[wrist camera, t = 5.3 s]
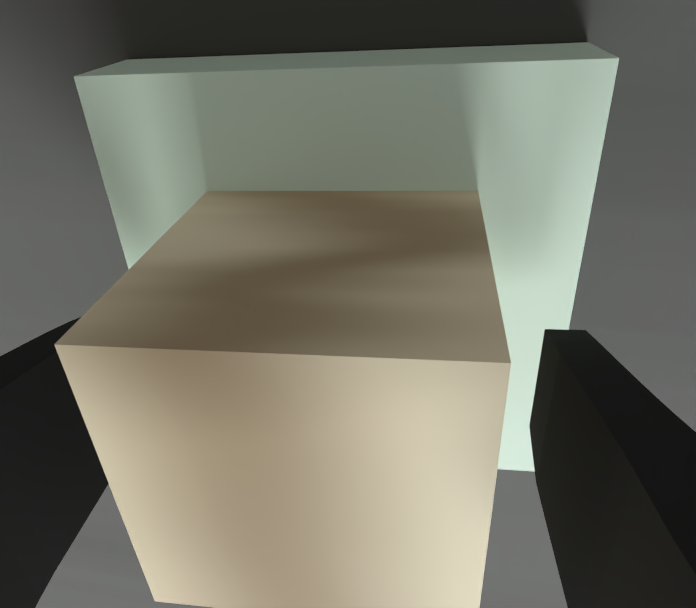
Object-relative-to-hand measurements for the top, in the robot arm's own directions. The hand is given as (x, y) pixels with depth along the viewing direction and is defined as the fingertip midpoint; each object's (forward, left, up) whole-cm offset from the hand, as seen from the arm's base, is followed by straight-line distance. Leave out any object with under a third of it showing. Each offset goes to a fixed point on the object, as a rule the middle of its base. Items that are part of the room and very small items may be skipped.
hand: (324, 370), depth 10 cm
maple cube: (0, 0, -2) cm, 2 cm away
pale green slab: (0, 0, -4) cm, 4 cm away
